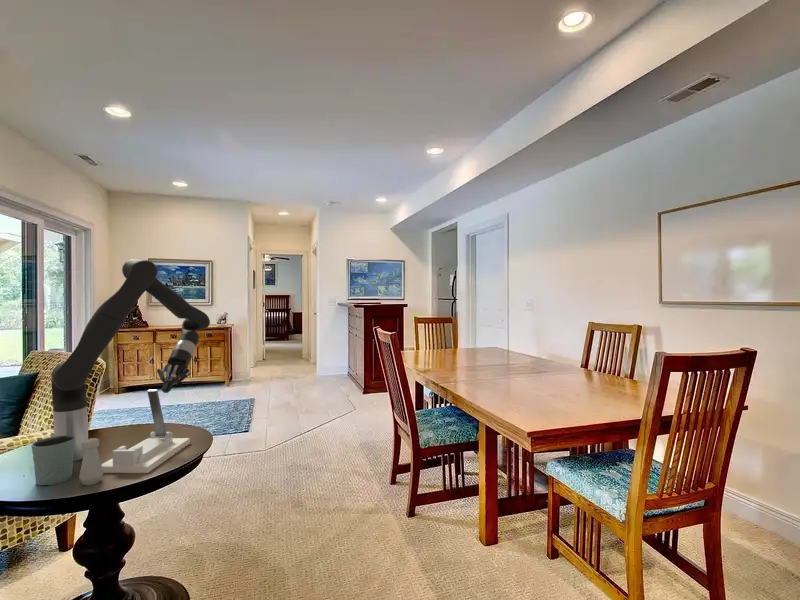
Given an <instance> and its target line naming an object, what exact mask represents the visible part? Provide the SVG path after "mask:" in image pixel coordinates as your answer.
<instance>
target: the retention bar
mask: <svg viewBox="0 0 800 600" xmlns="http://www.w3.org/2000/svg"><path fill="white" fill-rule="evenodd" d="M146 393H147V396H148V401H149V405H150V411H151V415H152V419H153V423H154V424H153V425H154V430H155V432H156V436H158V437H165V434H166V432H167V430H166V425H165V421H164V420H165V419H164V415H163V411H162V406H161V400H160V396H159V392H158V389H148V390H147V392H146Z"/></svg>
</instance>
